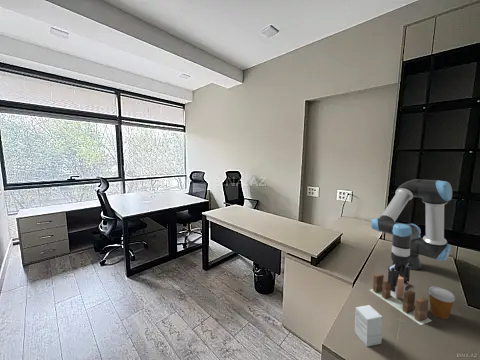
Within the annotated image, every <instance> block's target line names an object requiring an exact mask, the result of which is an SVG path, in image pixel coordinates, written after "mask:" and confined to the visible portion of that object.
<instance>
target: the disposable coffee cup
mask: <svg viewBox="0 0 480 360" xmlns="http://www.w3.org/2000/svg"><path fill="white" fill-rule="evenodd" d="M427 290H428V291H427V292H428V294H429V304H430V306H429V307H430V312H431V314H433V315H434V316H435V317H437V318H440V319H443V320H447V319H449V317H450V316H451V315H450V313H451V311H452V308H453V304H454V302H455V301H456V297H455V295H454V294H453V292H451V291H450V290H447V289H445V288H444V287H443V288H442V287H439V286H430V287H429V289H427Z"/></svg>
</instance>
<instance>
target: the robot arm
mask: <svg viewBox="0 0 480 360" xmlns="http://www.w3.org/2000/svg"><path fill="white" fill-rule="evenodd" d="M394 194H395V195H394V196H393V198H391V201H390V202H389V203H388V205H387V207H386V208H385V209H384V211H383V212H382V213H381V215H380V217H374V218H372V219H371V222H370V226H371V229H372V230H374V231H378V232H381V233H385V234H389V235H392V239H391V240H392V241H391V253H390V254H391V256H390V258H391V260H392V264H391V266H389V265H388V266H387V269H388V274H387V275H388V276H387V279H388V284H390V285H391V296H393V297H394V298H397V286H396V285H397V281H398V277H399V276H401V277H403V278H404V288H403V296H402V297H404V292H406V287H405V286H406V284H407V285H408V286H409V284H408V283H407V282H409V283H410V277H411V276H410V273H411V270H413V271H417V270H418V271H419V270H421V269H422V266H423V265H422V262H421V259H420V256H424V257H427V258H430V259H434V260H435V261H441V262H446V261H447V259H448V257H450V256H449V255H450V253H451V250H452V245H451V244H449V243H448V241H447V239H446V238H445V205H446V204H448V203H449V202H450V201H451V200H452V198H453V187H452V185H451V183H450V182H448V181H446V180H445V181H444V180H439V179H437V180H436V179H420V178H419V179H410V180H408V181H406V182H404V183H402V184H400V185H399V186H398V187H397V189H396V190H395V193H394ZM413 198H421V201H422V203H424V204H425V235H424V236H423V237H422V236H421V233H422V232H421V231H422V230H421V228H420V226H418V225H416V224H415V223H402V222H397V220H398V218H399V216H400V214H401V213H402V211H403V210H404V208H405V207H406V205H407V204H408V202H409V201H411V200H412V199H413ZM397 299H398V298H397Z"/></svg>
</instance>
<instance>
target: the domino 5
mask: <svg viewBox="0 0 480 360" xmlns="http://www.w3.org/2000/svg"><path fill="white" fill-rule="evenodd" d="M428 307H429V299H428V298H425V297H424V296H423V297H420V298H417V299H416V298H415V304H414V309H415V318H414V319H416V320H417V321H419V322H420V321H423V320H425V319H427V318H428Z"/></svg>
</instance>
